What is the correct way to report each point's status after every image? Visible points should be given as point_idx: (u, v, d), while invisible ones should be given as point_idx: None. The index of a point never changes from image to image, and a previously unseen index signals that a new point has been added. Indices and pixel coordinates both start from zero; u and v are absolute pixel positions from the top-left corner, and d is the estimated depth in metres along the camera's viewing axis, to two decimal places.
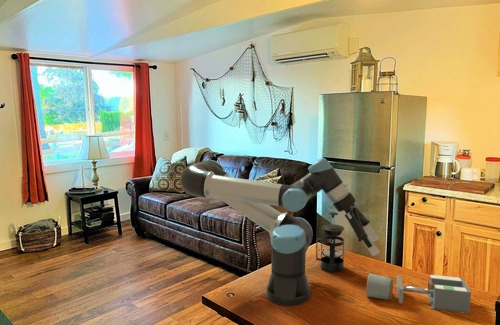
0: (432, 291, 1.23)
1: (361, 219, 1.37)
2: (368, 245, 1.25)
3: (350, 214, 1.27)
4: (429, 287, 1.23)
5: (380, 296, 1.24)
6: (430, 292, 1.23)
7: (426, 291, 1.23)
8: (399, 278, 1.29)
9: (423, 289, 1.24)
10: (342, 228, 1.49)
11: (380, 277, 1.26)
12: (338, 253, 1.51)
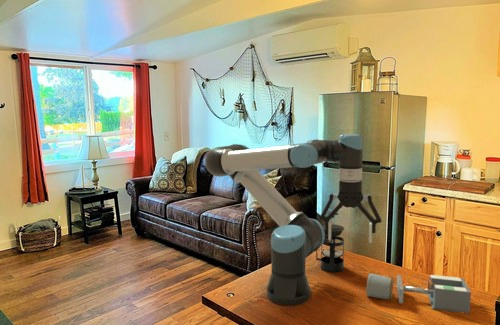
0: (432, 291, 1.23)
1: None
2: (325, 227, 1.32)
3: None
4: (429, 287, 1.23)
5: (380, 296, 1.25)
6: (430, 292, 1.23)
7: (426, 291, 1.23)
8: (399, 278, 1.29)
9: (423, 289, 1.24)
10: (342, 228, 1.49)
11: (380, 277, 1.27)
12: (338, 253, 1.51)
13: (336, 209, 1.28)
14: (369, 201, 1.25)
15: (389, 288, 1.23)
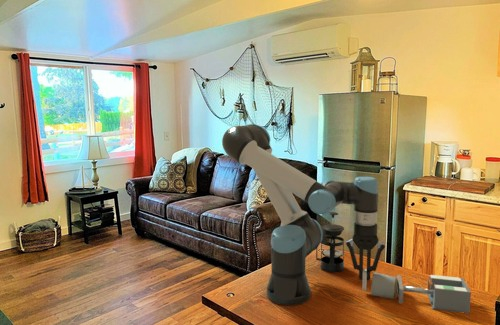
0: (432, 291, 1.23)
1: (367, 258, 1.28)
2: (359, 276, 1.30)
3: None
4: (429, 287, 1.23)
5: (385, 295, 1.25)
6: (430, 292, 1.23)
7: (426, 291, 1.23)
8: (399, 278, 1.29)
9: (423, 289, 1.24)
10: (342, 228, 1.49)
11: (385, 276, 1.27)
12: (338, 253, 1.51)
13: (360, 255, 1.28)
14: (380, 249, 1.26)
15: (394, 287, 1.24)
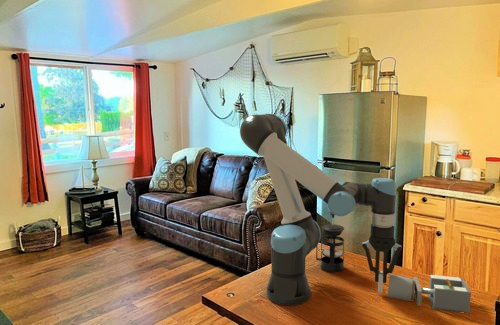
0: None
1: (383, 260, 1.27)
2: None
3: None
4: None
5: (402, 297, 1.24)
6: None
7: None
8: (416, 280, 1.27)
9: None
10: (342, 228, 1.49)
11: (402, 278, 1.25)
12: (338, 253, 1.51)
13: (377, 257, 1.26)
14: (397, 251, 1.24)
15: (411, 289, 1.22)
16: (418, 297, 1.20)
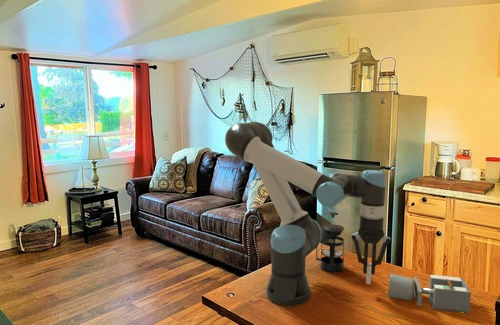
0: None
1: (372, 252, 1.27)
2: (363, 269, 1.30)
3: None
4: None
5: (402, 297, 1.24)
6: None
7: None
8: (416, 280, 1.27)
9: None
10: (342, 228, 1.49)
11: (402, 278, 1.26)
12: (338, 253, 1.51)
13: (365, 249, 1.27)
14: (385, 243, 1.25)
15: (411, 289, 1.22)
16: (418, 297, 1.20)
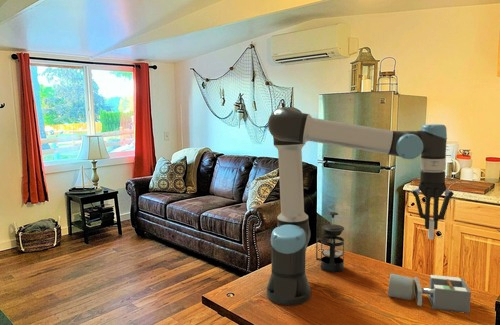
0: None
1: (434, 207, 1.27)
2: (425, 225, 1.29)
3: None
4: None
5: (402, 296, 1.24)
6: None
7: None
8: (417, 280, 1.27)
9: None
10: (342, 228, 1.49)
11: (402, 277, 1.26)
12: (338, 253, 1.51)
13: (427, 204, 1.27)
14: (448, 196, 1.25)
15: (411, 288, 1.23)
16: (419, 297, 1.20)
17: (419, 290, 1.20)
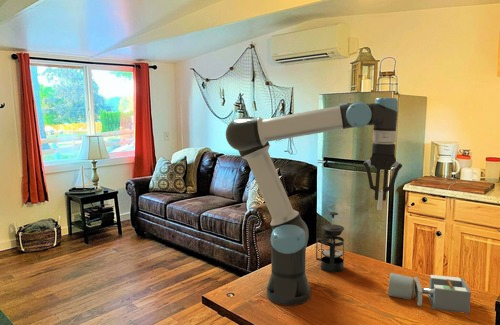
0: None
1: None
2: None
3: (364, 164, 1.32)
4: None
5: (402, 295, 1.25)
6: None
7: None
8: (417, 280, 1.27)
9: None
10: (342, 228, 1.49)
11: (402, 276, 1.27)
12: (338, 253, 1.51)
13: (377, 175, 1.31)
14: (397, 168, 1.28)
15: (411, 288, 1.23)
16: (419, 297, 1.20)
17: (419, 290, 1.20)
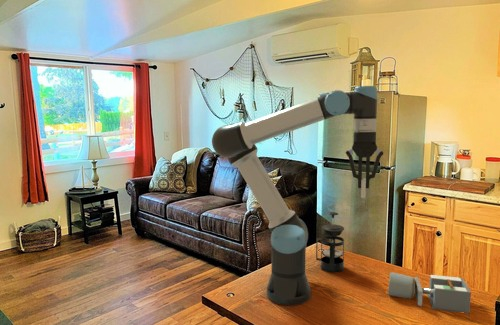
0: None
1: (366, 166, 1.32)
2: (358, 185, 1.34)
3: (346, 153, 1.33)
4: None
5: (402, 295, 1.25)
6: None
7: None
8: (417, 280, 1.27)
9: None
10: (342, 228, 1.49)
11: (402, 276, 1.27)
12: (338, 253, 1.51)
13: (359, 163, 1.32)
14: (378, 156, 1.30)
15: (411, 287, 1.24)
16: (419, 297, 1.20)
17: (419, 290, 1.20)
